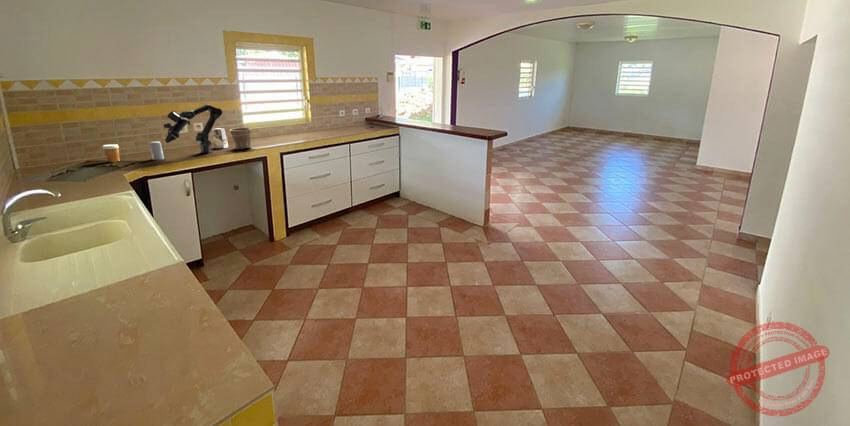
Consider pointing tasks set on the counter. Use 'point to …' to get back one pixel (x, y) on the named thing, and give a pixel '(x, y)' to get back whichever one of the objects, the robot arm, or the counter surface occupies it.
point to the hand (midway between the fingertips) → (166, 142)
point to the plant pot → (241, 137)
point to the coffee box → (219, 138)
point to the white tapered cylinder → (156, 150)
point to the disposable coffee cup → (112, 152)
